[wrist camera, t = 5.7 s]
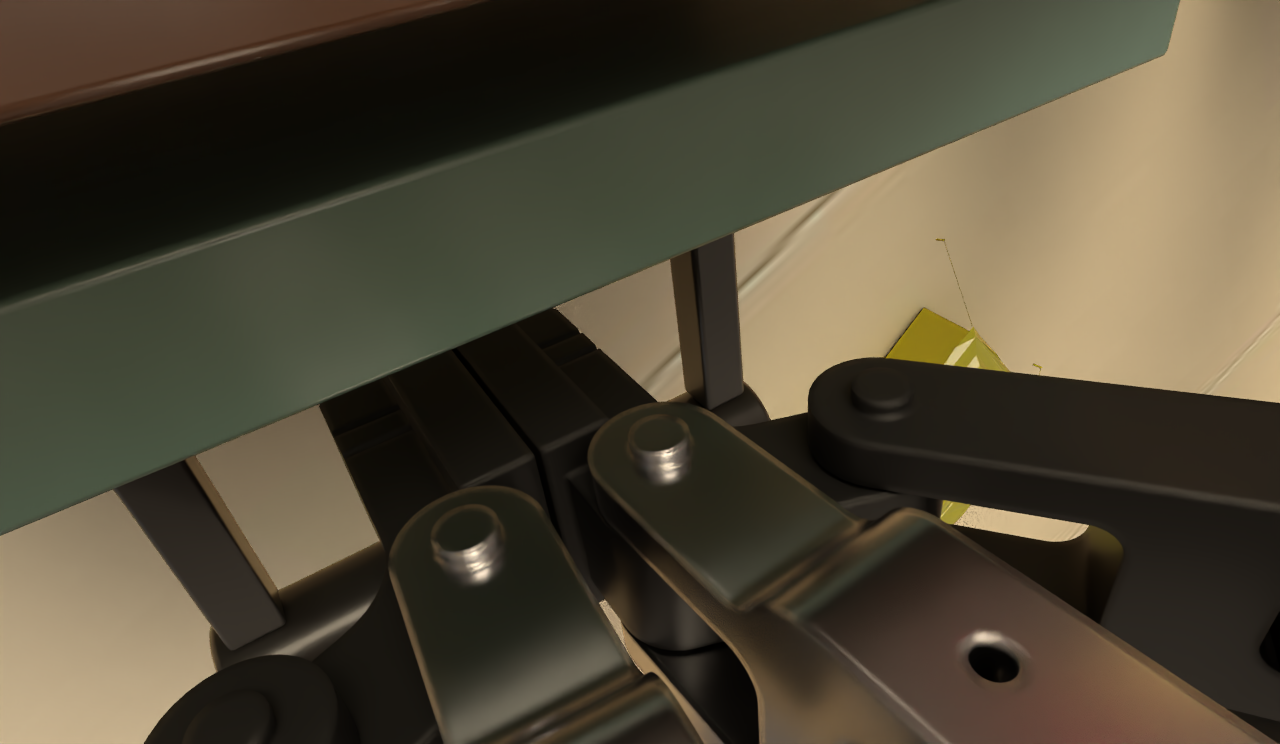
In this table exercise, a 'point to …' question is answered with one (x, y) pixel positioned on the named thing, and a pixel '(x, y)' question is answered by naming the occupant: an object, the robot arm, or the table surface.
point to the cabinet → (165, 42)
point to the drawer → (445, 225)
